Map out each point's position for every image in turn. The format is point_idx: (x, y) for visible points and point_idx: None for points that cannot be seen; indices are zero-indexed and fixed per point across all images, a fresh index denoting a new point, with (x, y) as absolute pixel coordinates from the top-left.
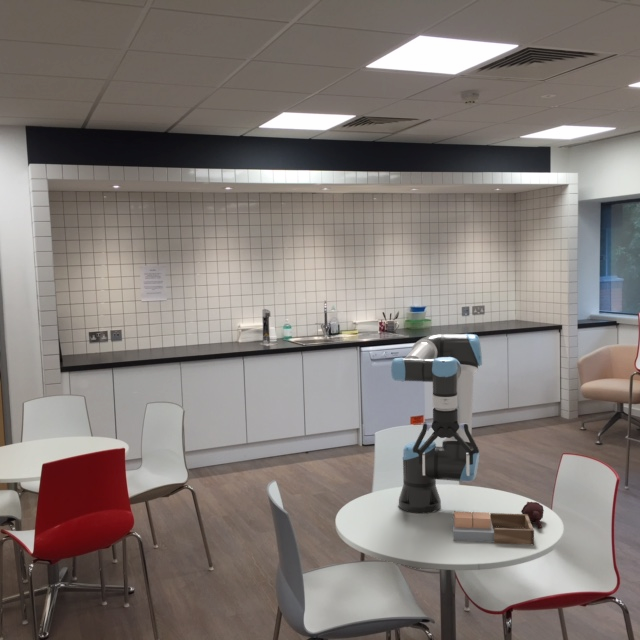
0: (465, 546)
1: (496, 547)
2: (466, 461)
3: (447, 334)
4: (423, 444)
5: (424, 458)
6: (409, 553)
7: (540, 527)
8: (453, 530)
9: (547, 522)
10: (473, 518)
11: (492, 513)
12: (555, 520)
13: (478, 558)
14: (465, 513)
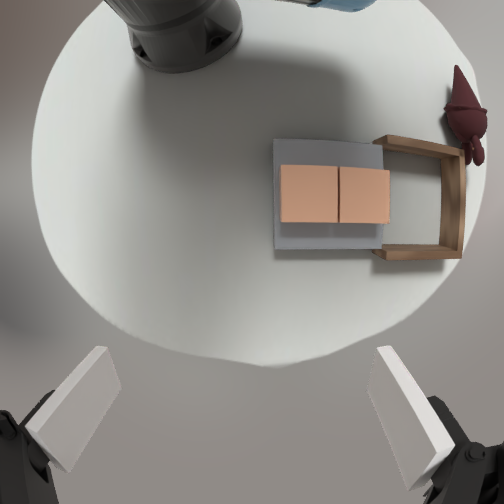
0: (301, 279)
1: (371, 276)
2: (402, 423)
3: None
4: (5, 484)
5: (76, 457)
6: (171, 327)
7: (466, 164)
8: (274, 224)
9: None
10: (340, 222)
11: (392, 138)
12: None
13: (322, 338)
14: (318, 180)
